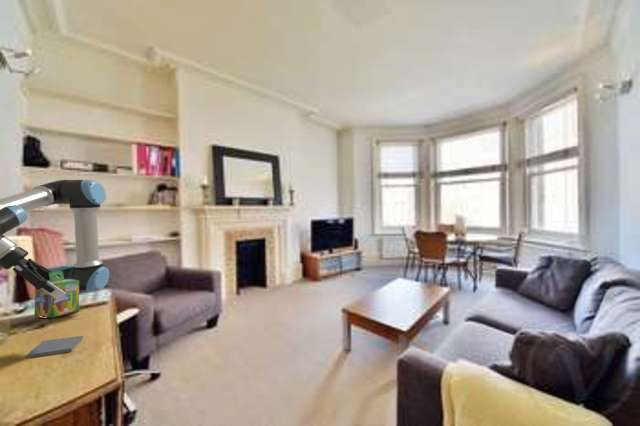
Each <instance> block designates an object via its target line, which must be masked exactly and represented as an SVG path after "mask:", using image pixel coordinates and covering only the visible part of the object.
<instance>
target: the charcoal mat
mask: <svg viewBox="0 0 640 426" xmlns="http://www.w3.org/2000/svg"><path fill="white" fill-rule="evenodd" d="M83 340H84V336H83V335H78V336H77V335H76V336H69V337H62V338H55V339H45V340H42V341H41V342H40V343H39V344H37V345H36V346H35V347H34V348H32V350H30V351H29V352H28V353H27V354H26V359H31V358H39V357H44V356H52V355H59V354H65V353H72V352H73V351H74V349H75V348H76V347H77V346H79V345H78V344H80V343H81V342H82V341H83Z"/></svg>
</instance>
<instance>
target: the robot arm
mask: <svg viewBox="0 0 640 426" xmlns="http://www.w3.org/2000/svg"><path fill="white" fill-rule="evenodd" d="M106 196H107V193H106V190H105V188H104V186H103V185H102V184H101V182H100V181H97V180H94V179H59V180H55V181H50V182H48V183H47V182H46V183H44V184H40V185H36V186H33V187H32V188H31V190H27V191H23V192H21V193H18V194H17V193H16V194H13V195H10V196H6V197H3V198H0V267H1V268H2V269H4V270H9V269H12V271H13V272H15V273H17V274H19V275H20V276H21V277H22V278H23V279H25V281H26V282H28V283H29V284H30V285H32V286H33V287H34V289H35V288H36V290H39V289H42V290H44V291H45V292H47V293H48V294H50V295H52V296H53V297H55V298H56V299H58V300H60V299H61V298H62V297H63V296H64V295H65V294H66V293H65V292H64V291H62V290H61V289H59V288H58V287H56V286H55V285H53V284H52V283H50V282H47V281H50V279H49V273H52V272H58V271H62V272H63V276H64V279H73V280H79V293H92V292H99V291H101V290H103V289H104V288H105V286H107V284H108V282H109V279H110V271H109V269H108V267H105V266H104V262H103V261H102V260H100V256H99V255H100V254H99V251H100V250H99V232H98V212H97V211H99V210H100V208H101V205H102V204H104V203H105V202H106V201H105V200H106V198H107V197H106ZM53 205H69V209H70V210H71V211H72V212H73V216H74V235H75V236H74V237H75V254H76V255H75V257H76V262H75V263H71V264H70V263H69V264H64V265H58V266H52V267H48V268H46V267H45V266H43V265H42V264H40V263H38V262H36V261H34V260H33V259H32V258H28V259H26V258H25V257H27V256H28V255H29V251H27V250H26V249H23V247H21V246H18V245H17V243H16V242H14V241H12V240H11V239H10V238H8V237H7V236H5V234H6V233H7V232H10V231H12V230H13V229H15V228H17V227H19V226H21V225H22V224H23V223H25V222H26V221H27V220H28V213H27V212H28V211H30V210H34V209H37V208H40V207H50V206H53ZM12 267H13V268H12ZM53 278H54V279H58V278H60V276H59V275H54V276H53ZM79 311H80V309H79V310H78V311H75V312H71V313H67V314H64V315H60V316H57V317H54V318H52V317H48V318H47V319H55V318H57V319H58V318H63V317H67V316H71V315H74V314H76V313H78V312H79Z"/></svg>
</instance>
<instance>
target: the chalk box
mask: <svg viewBox="0 0 640 426" xmlns="http://www.w3.org/2000/svg"><path fill="white" fill-rule="evenodd" d="M54 275H59V276H60V278H58V279H54V278H53V276H54ZM49 279H50V281H47V282H50V283H52V284H53V285H55V286H56V287H58V288H59V289H61V290H62V291H64V292H65V293H66V294H65V295H64V296H63V297H62V298H61V299H60V300H58V299H56V298H55V297H53V296H52V295H50V294H48V293H47V292H45V291H44V290H42V289H39V290H36V288H35V287H34V317H38V316H42V317H52V318H51V319H55V318H54V317H57V316H60V315H64V314H67V313H71V312H75V311H78V310H79V311H80V292H79V280H73V279H64V276H63V272H62V271H58V272H52V273H49ZM79 311H78V312H79ZM57 318H58V317H57Z"/></svg>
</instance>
